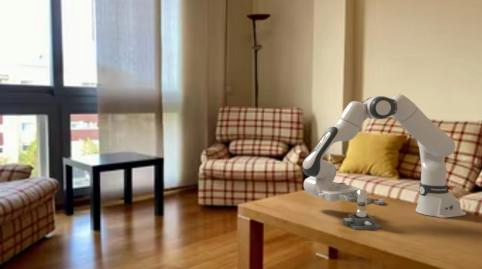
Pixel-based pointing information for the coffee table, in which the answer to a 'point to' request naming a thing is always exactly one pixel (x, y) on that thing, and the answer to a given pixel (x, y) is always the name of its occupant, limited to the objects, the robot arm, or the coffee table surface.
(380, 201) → the pulley system
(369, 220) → the shaft housing
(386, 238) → the coffee table surface
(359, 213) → the coupler
